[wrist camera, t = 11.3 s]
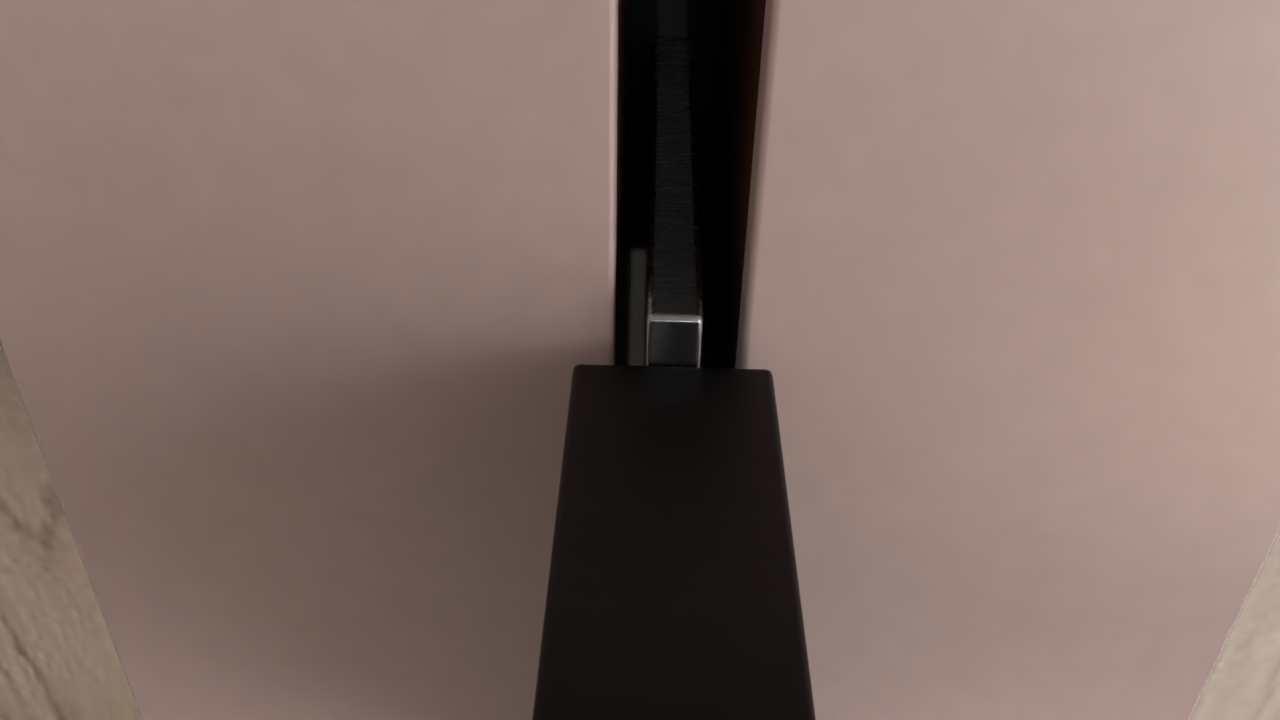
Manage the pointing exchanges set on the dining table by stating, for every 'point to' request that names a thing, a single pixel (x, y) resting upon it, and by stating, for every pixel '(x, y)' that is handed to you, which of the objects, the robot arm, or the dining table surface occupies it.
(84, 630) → the dining table surface
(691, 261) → the black and grey slab
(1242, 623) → the dining table surface
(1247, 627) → the dining table surface
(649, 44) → the cake board
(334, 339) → the cake
